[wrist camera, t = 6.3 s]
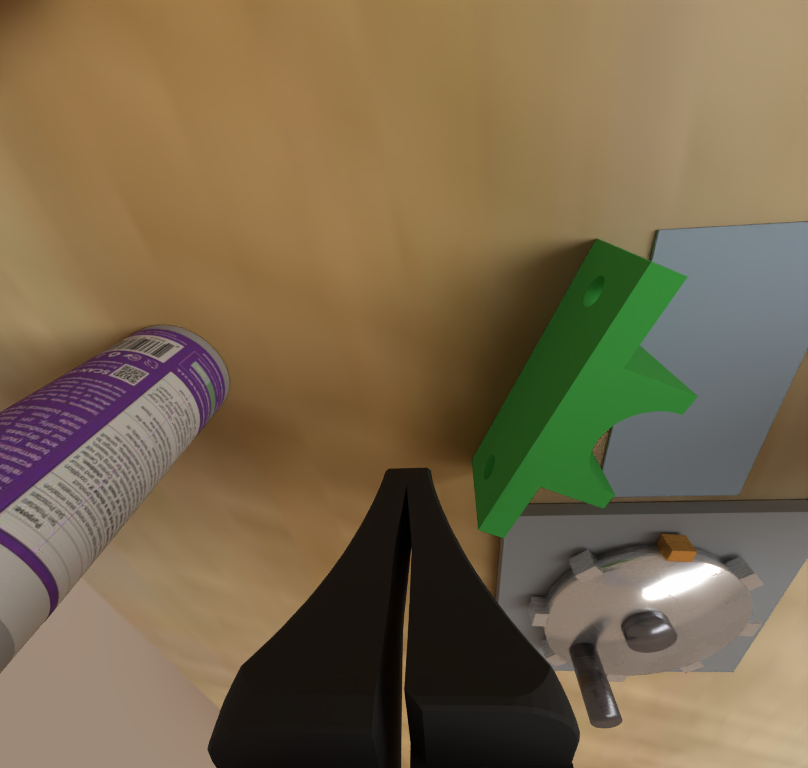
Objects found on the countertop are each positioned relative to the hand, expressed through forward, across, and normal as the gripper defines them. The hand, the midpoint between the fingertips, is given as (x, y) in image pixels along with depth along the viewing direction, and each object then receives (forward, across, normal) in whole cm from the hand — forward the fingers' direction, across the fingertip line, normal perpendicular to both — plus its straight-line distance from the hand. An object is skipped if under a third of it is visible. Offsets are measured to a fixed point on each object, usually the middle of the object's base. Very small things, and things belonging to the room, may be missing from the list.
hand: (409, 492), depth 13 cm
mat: (+6, -13, 0) cm, 14 cm away
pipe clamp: (+6, -6, 0) cm, 9 cm away
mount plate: (+6, -12, +14) cm, 20 cm away
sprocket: (+6, -12, +14) cm, 20 cm away
